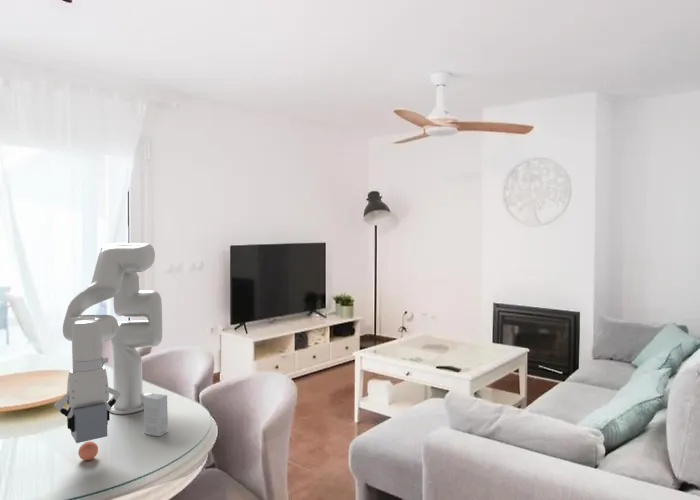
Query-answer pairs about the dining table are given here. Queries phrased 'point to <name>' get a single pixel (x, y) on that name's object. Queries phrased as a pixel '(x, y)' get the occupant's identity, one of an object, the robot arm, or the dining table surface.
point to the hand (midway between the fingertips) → (88, 426)
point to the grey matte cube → (90, 423)
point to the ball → (88, 450)
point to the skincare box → (155, 414)
